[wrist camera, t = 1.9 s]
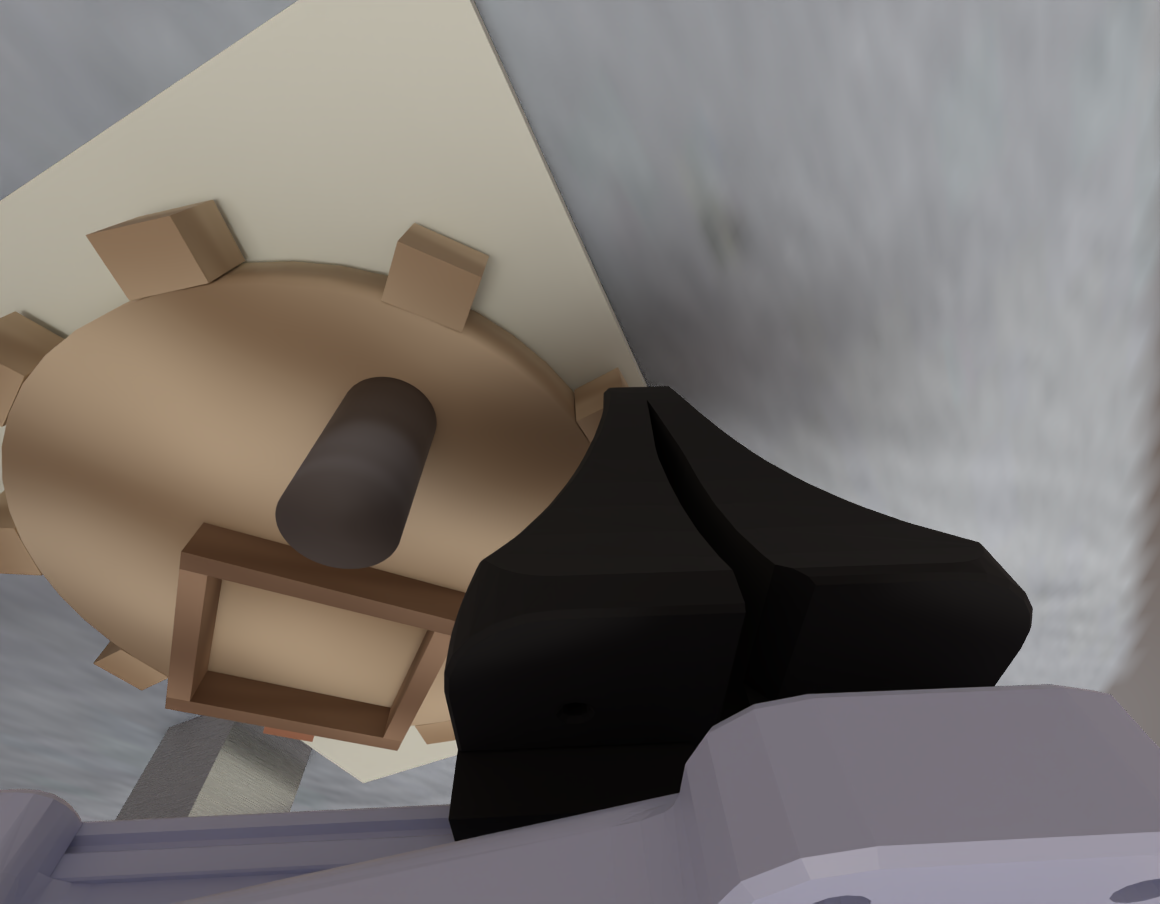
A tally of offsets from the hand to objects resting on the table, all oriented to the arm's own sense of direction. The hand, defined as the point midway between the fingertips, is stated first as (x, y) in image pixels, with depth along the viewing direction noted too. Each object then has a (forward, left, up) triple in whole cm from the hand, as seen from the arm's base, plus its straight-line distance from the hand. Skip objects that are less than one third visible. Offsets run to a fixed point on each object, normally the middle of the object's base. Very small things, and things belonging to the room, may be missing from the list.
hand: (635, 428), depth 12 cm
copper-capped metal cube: (-21, -9, -3) cm, 23 cm away
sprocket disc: (-9, -1, -2) cm, 9 cm away
